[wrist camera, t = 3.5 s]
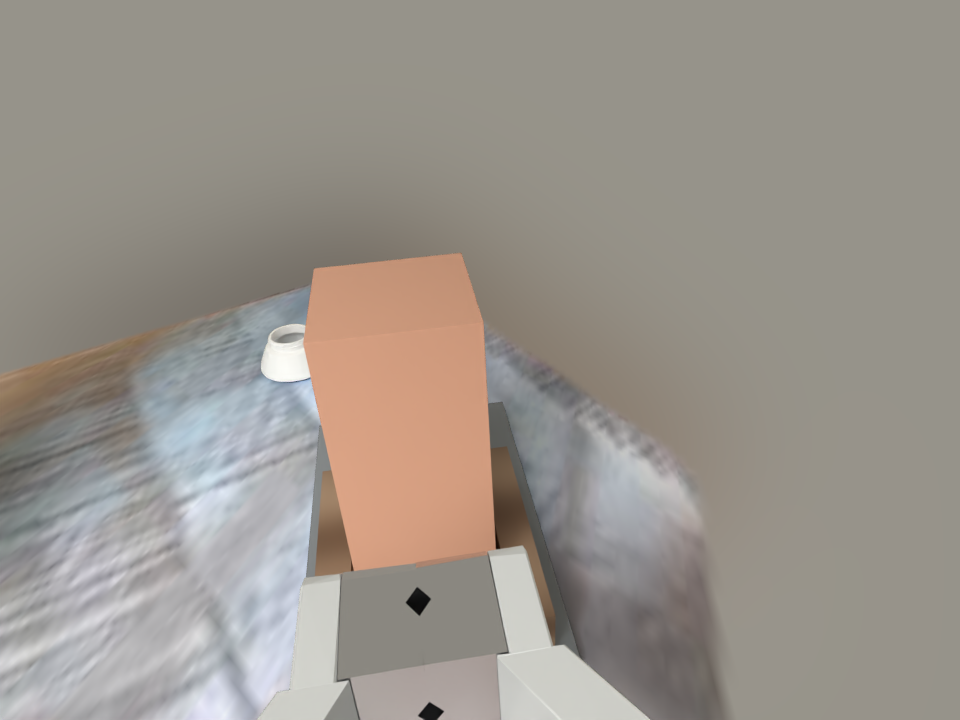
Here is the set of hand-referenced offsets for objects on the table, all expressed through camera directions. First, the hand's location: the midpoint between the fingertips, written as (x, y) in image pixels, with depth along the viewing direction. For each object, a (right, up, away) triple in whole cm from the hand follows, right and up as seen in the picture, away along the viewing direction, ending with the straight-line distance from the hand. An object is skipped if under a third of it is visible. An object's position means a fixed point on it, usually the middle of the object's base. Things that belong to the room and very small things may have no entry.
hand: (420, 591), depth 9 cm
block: (-2, -7, +24) cm, 25 cm away
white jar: (-13, +2, +41) cm, 43 cm away
